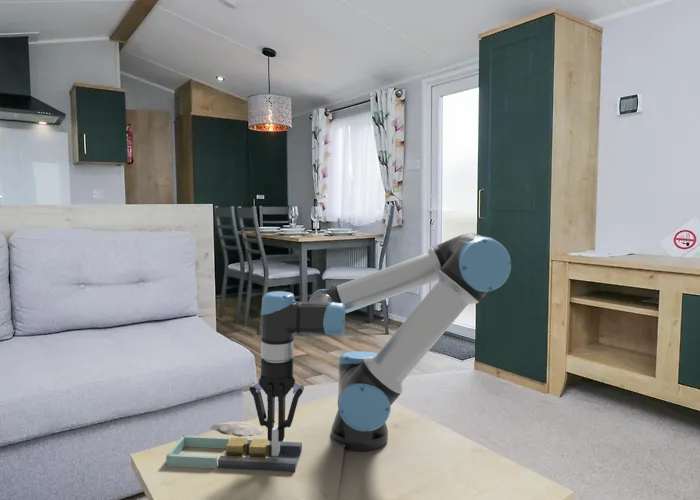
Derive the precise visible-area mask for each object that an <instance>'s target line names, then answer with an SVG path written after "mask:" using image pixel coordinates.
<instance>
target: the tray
mask: <svg viewBox="0 0 700 500" xmlns="http://www.w3.org/2000/svg"><path fill="white" fill-rule="evenodd" d="M229 440H230V437H224V436H223V437H222V436H221V437H220V436H206V435H205V436H204V435H203V436H202V435H201V436H200V435H182V436H181V437H180V438H179V440H178V441H177V442H176V443H175V444H174V446H173V447H172V448H171V449H170V451H168V453H167V454H166V456H165V464H166V467H184V468H186V467H187V468H202V469H204V468H207V469H217V468H218V456H217V455H216V456H215V455H214V456H212V455H193V454H180V453H182V452H183V450H184V449H185V447H186V448H187V447H190V448H191V447H192V448H193V447H194V448H209V449H210V448H211V449H212V448H214V449H215V448H216V449H226V445H227V443H228V442H229Z"/></svg>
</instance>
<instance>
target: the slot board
mask: <svg viewBox="0 0 700 500" xmlns="http://www.w3.org/2000/svg"><path fill="white" fill-rule="evenodd" d="M252 440H253V439H247V455H246V457H240V456H226V455H220V456H219V458H217V468H218V469H223V470H224V469H225V470H241V471H242V470H245V471H247V470H248V471H262V472H263V471H265V472H282V473H283V472H286V473H296V469H297V466H298V463H299V461H300V457H301V454H302V451H303V442H301V441H300V442H298V441H296V442H295V441H283V442H281V441H280V452H279V454H278V456H272V441H269V457H268V458H261V457H249V446H250V444H251V442H252Z"/></svg>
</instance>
